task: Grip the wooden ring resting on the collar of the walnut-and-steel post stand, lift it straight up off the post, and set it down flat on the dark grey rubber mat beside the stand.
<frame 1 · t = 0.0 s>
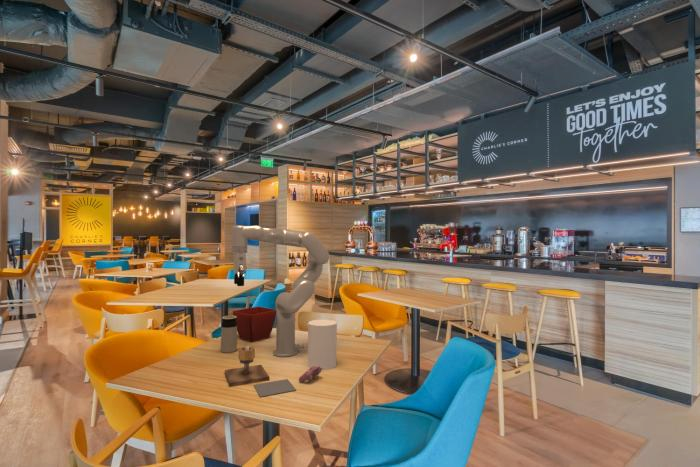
hand: (239, 284, 175), 37 cm above the table, tool pointing down, fingers open, 9 cm apart
post stand: (246, 376, 153), on the table
wooden ring: (246, 358, 153), point 8 cm above the table, touching post stand
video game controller: (310, 380, 150), on the table
travel mug: (228, 351, 189), on the table
canister: (322, 365, 168), on the table
rubber mat: (274, 388, 141), on the table
plant pot: (254, 338, 213), on the table
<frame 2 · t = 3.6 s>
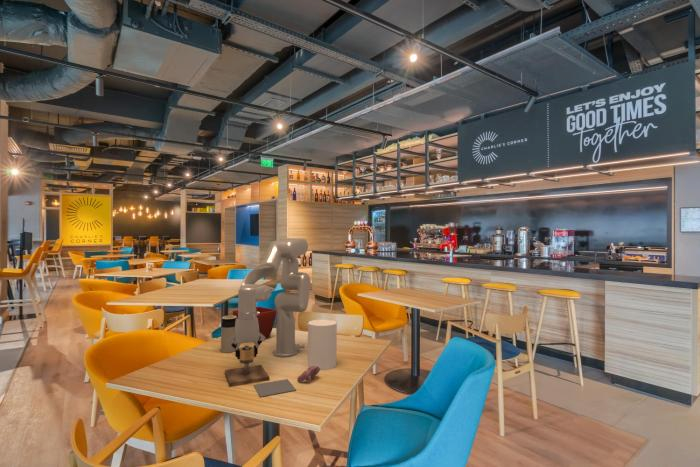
hand: (246, 356, 153), 8 cm above the table, tool pointing down, fingers closed on wooden ring, 6 cm apart
wooden ring: (246, 358, 153), point 8 cm above the table, touching gripper, post stand
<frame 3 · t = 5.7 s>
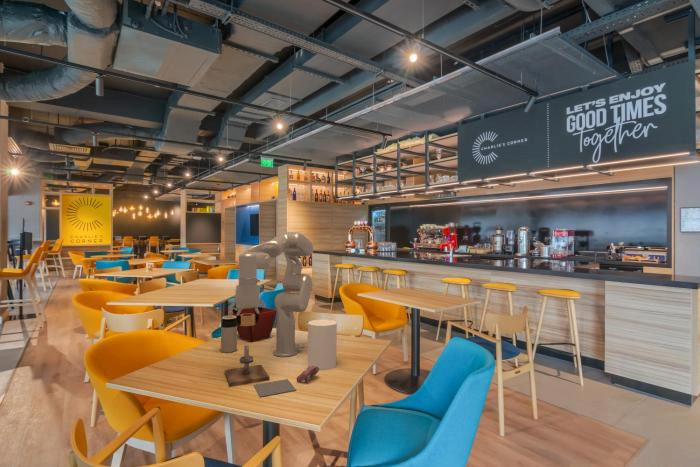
hand: (247, 323, 154), 23 cm above the table, tool pointing down, fingers closed on wooden ring, 6 cm apart
wooden ring: (247, 324, 154), point 22 cm above the table, touching gripper
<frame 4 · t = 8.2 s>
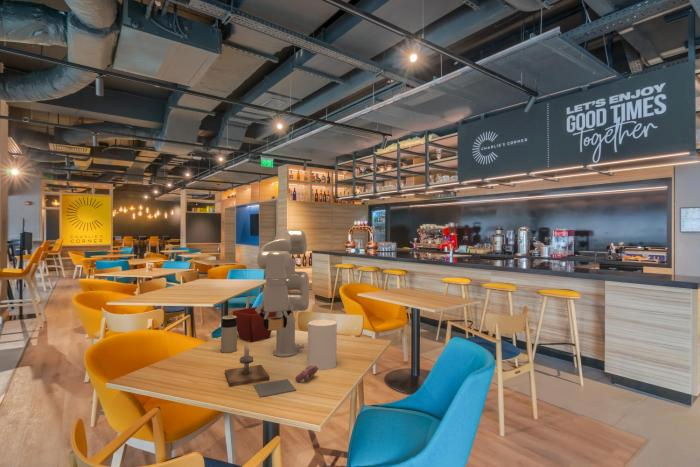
hand: (275, 327, 141), 24 cm above the table, tool pointing down, fingers closed on wooden ring, 6 cm apart
wooden ring: (275, 328, 141), point 24 cm above the table, touching gripper
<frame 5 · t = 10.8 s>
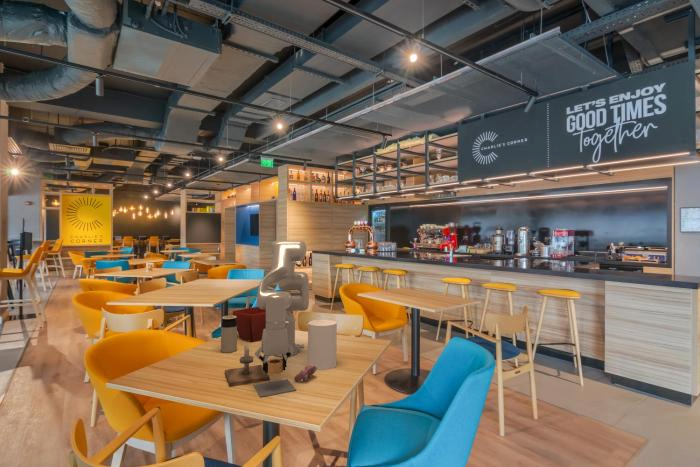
hand: (274, 370, 141), 7 cm above the table, tool pointing down, fingers closed on wooden ring, 6 cm apart
wooden ring: (274, 371, 141), point 7 cm above the table, touching gripper
when the fingers open (3 cm above the table, at t = 12.9 s): wooden ring drops 2 cm, resting on rubber mat.
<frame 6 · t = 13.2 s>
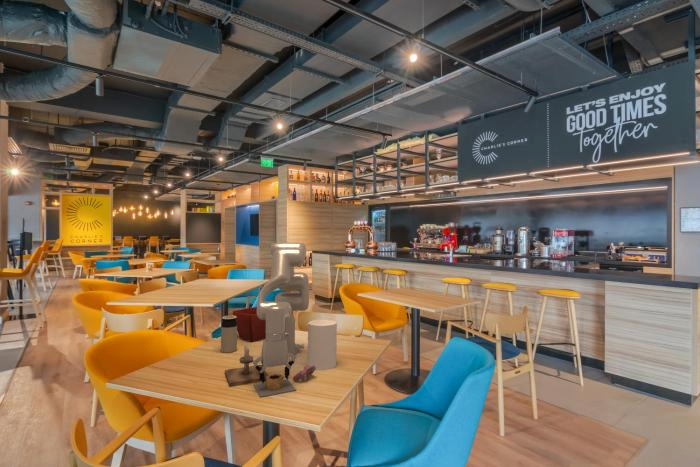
hand: (274, 379, 141), 3 cm above the table, tool pointing down, fingers open, 9 cm apart
wooden ring: (274, 387, 141), resting on rubber mat
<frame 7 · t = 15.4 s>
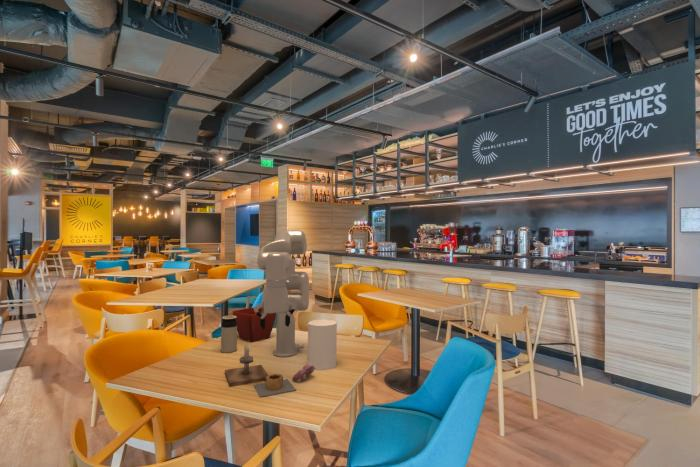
hand: (275, 327, 142), 24 cm above the table, tool pointing down, fingers open, 9 cm apart
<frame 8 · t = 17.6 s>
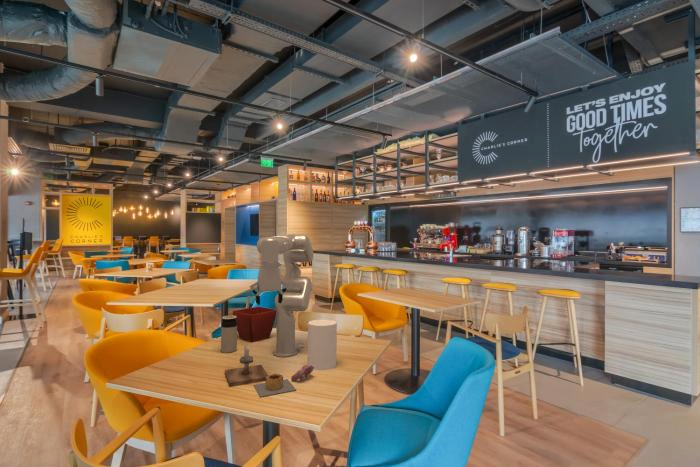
hand: (269, 303, 160), 30 cm above the table, tool pointing down, fingers open, 9 cm apart
at the end: wooden ring inside the target area (0.1 cm from its centre), resting on rubber mat; wooden ring touching rubber mat; wooden ring tilted 0° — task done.
